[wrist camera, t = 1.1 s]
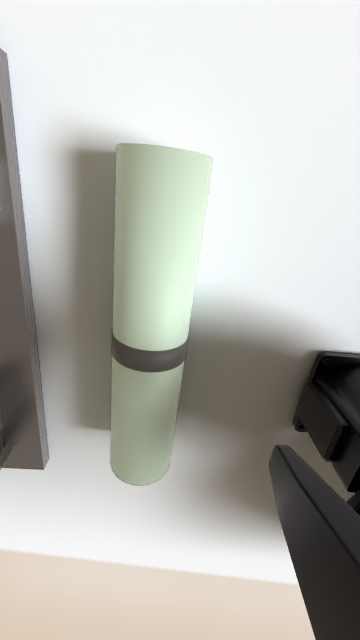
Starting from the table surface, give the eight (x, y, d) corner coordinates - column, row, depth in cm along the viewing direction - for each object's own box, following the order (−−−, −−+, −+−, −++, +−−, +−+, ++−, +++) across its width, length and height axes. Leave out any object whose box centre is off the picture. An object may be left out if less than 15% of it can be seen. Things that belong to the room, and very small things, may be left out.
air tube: (208, 162, 14) (221, 153, 10) (171, 436, 21) (170, 488, 18) (123, 151, 14) (105, 138, 10) (115, 432, 21) (103, 484, 17)
